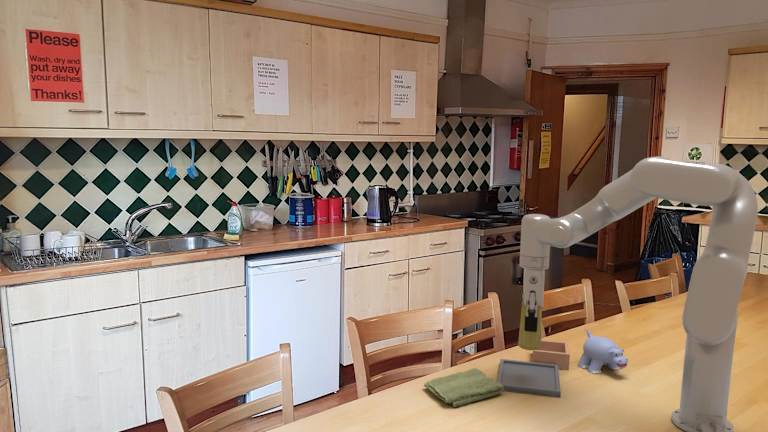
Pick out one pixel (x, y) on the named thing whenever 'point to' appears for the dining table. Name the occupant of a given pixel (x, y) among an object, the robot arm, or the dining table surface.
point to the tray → (529, 377)
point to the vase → (526, 337)
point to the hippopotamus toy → (601, 354)
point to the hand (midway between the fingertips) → (530, 326)
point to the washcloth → (464, 387)
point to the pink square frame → (553, 354)
